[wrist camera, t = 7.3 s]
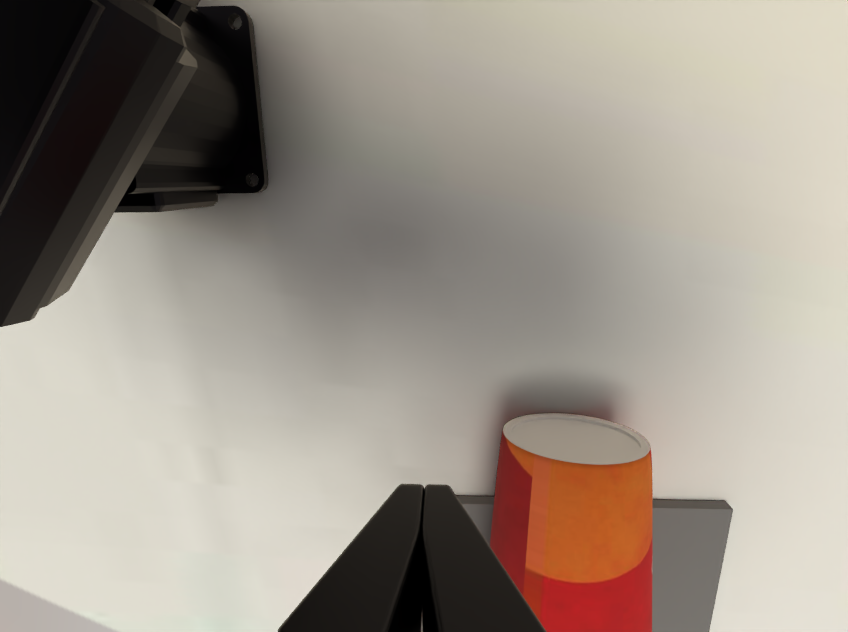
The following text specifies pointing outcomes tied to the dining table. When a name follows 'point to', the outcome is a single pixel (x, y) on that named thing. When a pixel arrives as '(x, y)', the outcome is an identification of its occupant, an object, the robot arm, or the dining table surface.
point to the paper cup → (576, 521)
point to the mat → (667, 557)
